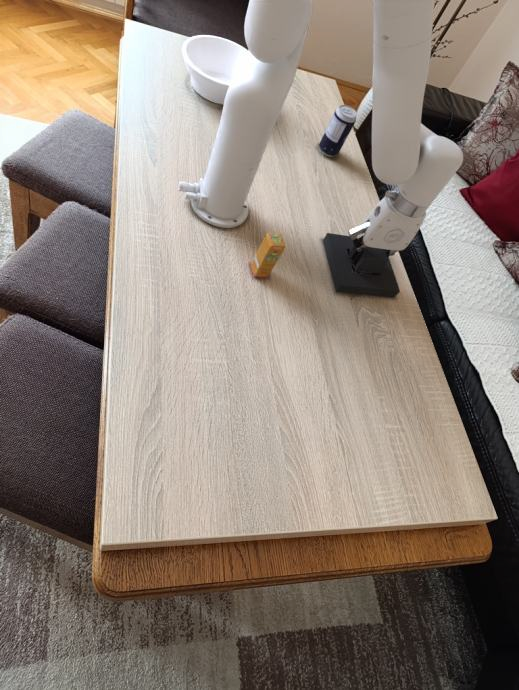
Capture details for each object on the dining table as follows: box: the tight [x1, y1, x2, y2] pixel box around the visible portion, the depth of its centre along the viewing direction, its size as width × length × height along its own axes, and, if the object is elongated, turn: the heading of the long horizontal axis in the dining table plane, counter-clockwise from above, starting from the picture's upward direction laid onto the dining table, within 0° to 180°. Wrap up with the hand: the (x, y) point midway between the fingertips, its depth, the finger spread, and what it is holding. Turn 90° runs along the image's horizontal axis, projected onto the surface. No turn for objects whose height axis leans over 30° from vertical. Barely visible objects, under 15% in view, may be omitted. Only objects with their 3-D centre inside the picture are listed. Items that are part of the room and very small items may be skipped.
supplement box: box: [250, 232, 286, 278], centre depth 99 cm, size 3×3×10 cm
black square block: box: [350, 241, 389, 274], centre depth 109 cm, size 6×6×4 cm
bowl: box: [181, 34, 248, 106], centre depth 128 cm, size 21×21×8 cm
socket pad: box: [322, 232, 401, 299], centre depth 112 cm, size 15×15×2 cm
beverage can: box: [318, 104, 358, 158], centre depth 128 cm, size 6×6×12 cm
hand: (364, 260), depth 110 cm, fingers closed on black square block, 5 cm apart
